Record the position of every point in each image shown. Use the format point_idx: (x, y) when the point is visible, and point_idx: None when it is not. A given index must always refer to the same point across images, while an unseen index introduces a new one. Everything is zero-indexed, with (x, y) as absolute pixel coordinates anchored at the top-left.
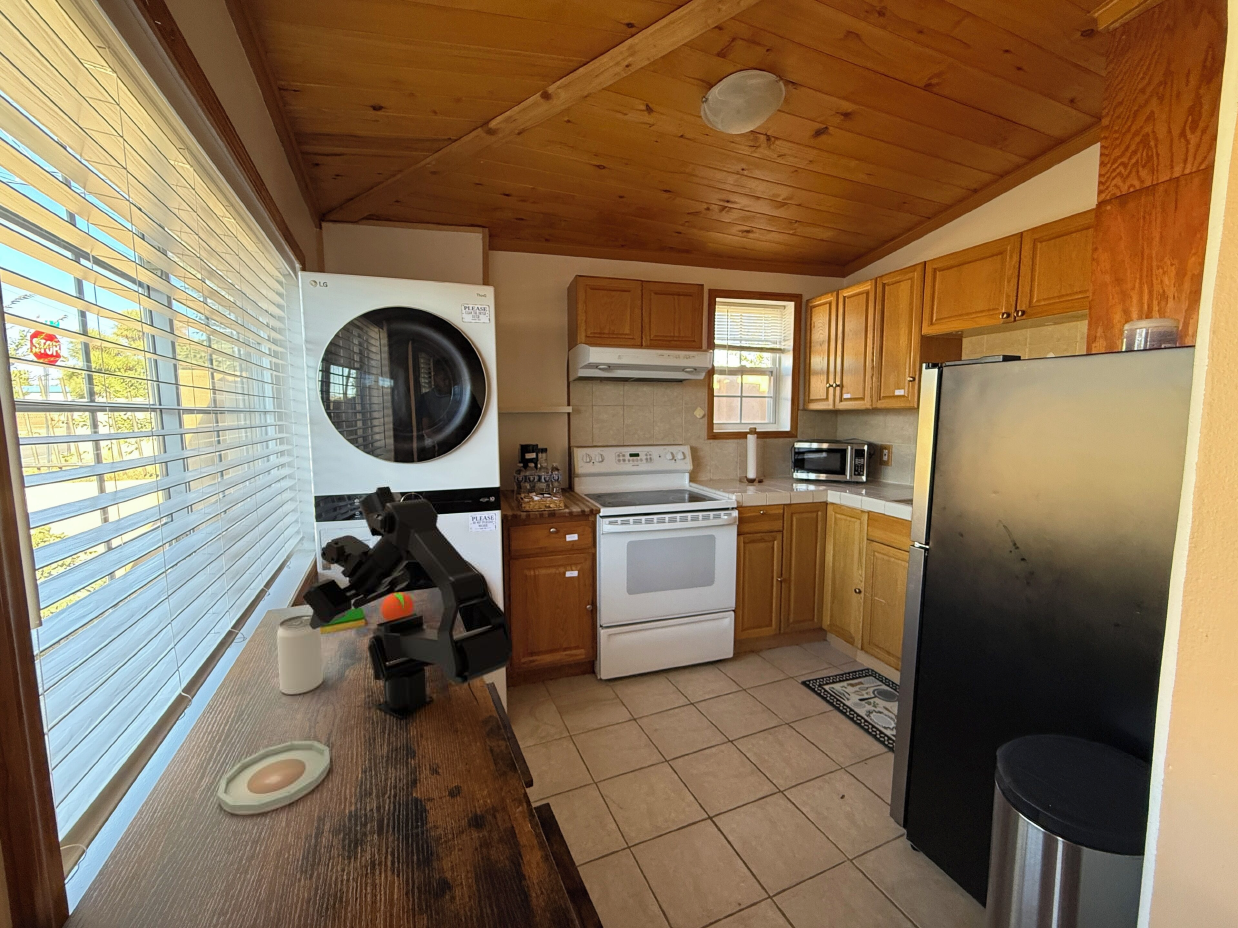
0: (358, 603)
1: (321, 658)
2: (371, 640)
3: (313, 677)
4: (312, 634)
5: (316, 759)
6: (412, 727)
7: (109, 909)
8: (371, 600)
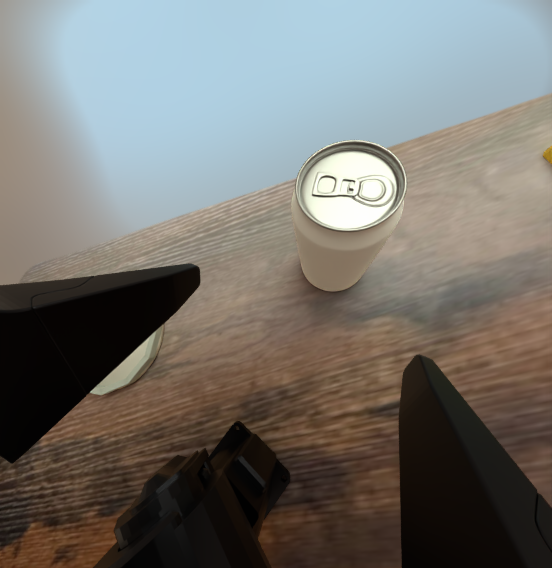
0: (409, 400)
1: (344, 279)
2: (151, 500)
3: (316, 282)
4: (319, 249)
5: (127, 369)
6: None
7: (24, 281)
8: (403, 517)
